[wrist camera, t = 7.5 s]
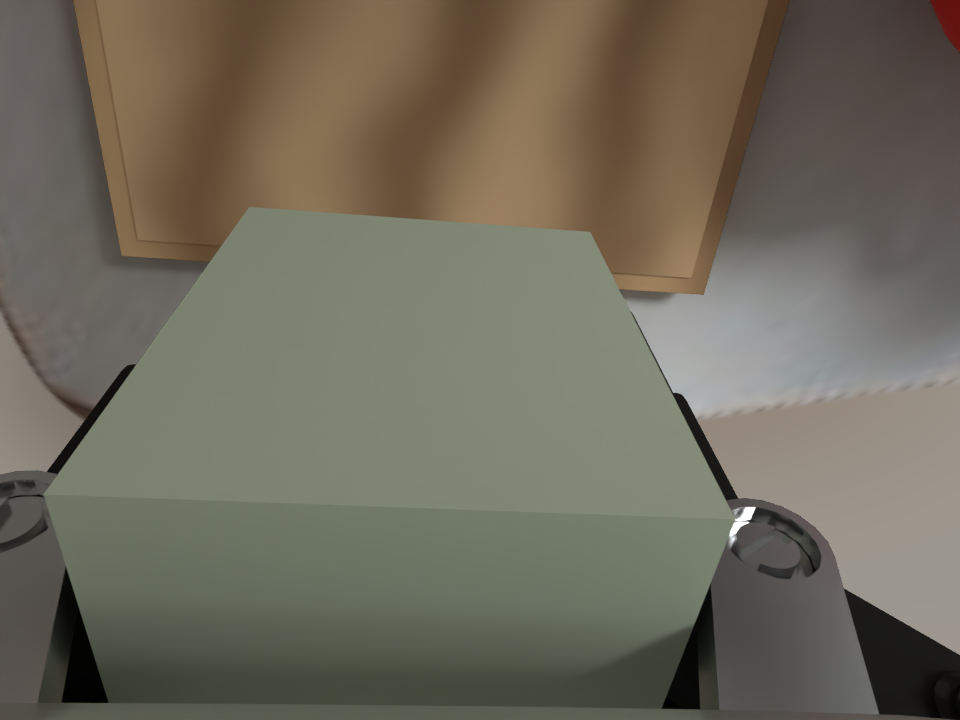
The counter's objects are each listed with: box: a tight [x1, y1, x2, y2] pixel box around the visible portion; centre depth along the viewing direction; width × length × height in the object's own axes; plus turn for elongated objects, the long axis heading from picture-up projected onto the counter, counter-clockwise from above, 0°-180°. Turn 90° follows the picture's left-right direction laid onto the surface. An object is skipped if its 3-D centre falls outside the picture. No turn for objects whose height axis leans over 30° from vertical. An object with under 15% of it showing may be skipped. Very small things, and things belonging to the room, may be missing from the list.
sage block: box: [44, 207, 736, 709], centre depth 9 cm, size 5×5×6 cm
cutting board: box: [73, 0, 789, 295], centre depth 26 cm, size 24×12×2 cm, turn 85°
